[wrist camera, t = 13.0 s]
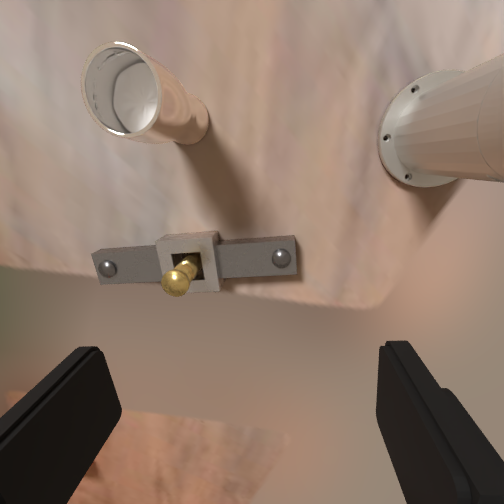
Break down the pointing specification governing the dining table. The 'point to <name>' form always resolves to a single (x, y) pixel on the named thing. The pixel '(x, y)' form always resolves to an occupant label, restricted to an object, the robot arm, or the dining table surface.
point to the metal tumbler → (140, 97)
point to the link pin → (182, 275)
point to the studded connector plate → (212, 255)
